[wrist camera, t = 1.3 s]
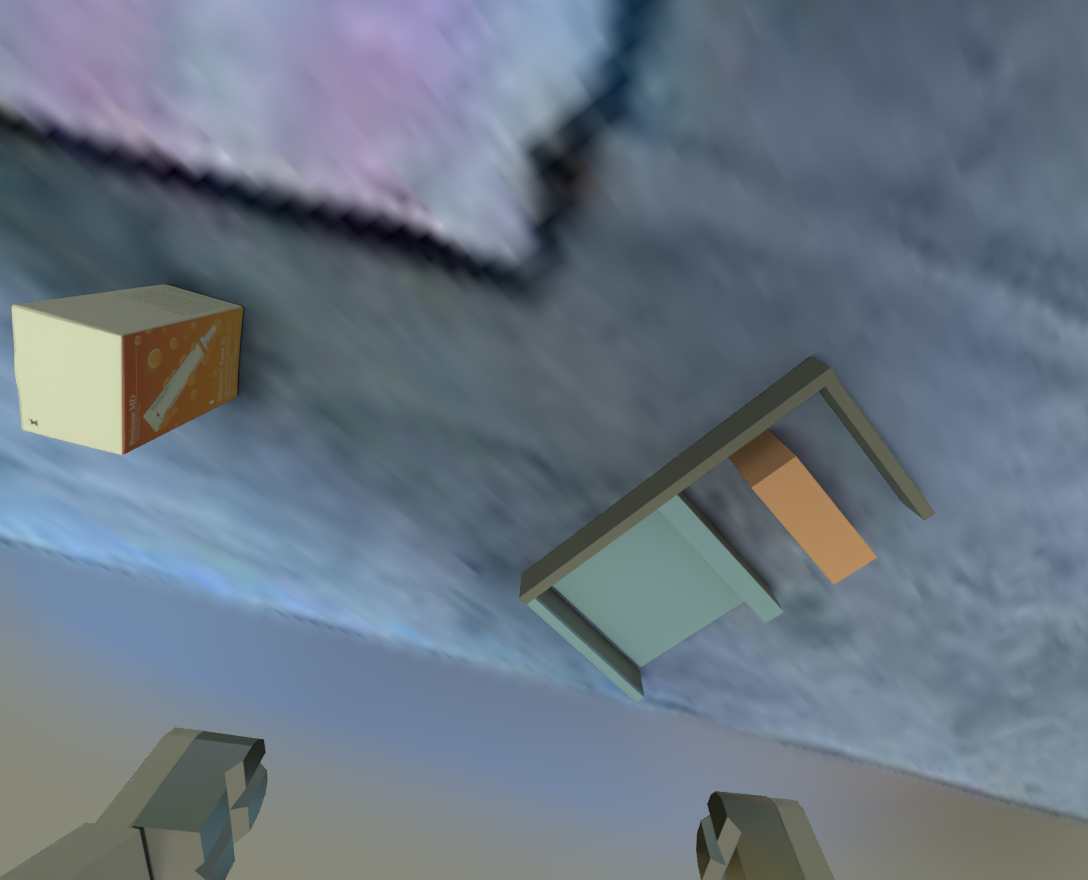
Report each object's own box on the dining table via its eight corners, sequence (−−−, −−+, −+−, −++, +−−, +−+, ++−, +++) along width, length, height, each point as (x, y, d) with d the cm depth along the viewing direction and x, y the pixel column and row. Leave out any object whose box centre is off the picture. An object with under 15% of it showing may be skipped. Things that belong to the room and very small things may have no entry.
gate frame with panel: (810, 356, 42) (831, 367, 39) (913, 496, 47) (939, 516, 44) (521, 574, 51) (519, 597, 48) (631, 674, 55) (636, 702, 52)
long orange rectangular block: (766, 428, 45) (796, 456, 39) (840, 519, 48) (877, 557, 43) (727, 456, 46) (751, 487, 41) (802, 544, 49) (833, 584, 44)
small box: (239, 397, 45) (123, 459, 33) (164, 376, 44) (17, 432, 32) (246, 304, 42) (121, 335, 30) (165, 281, 42) (4, 302, 29)
